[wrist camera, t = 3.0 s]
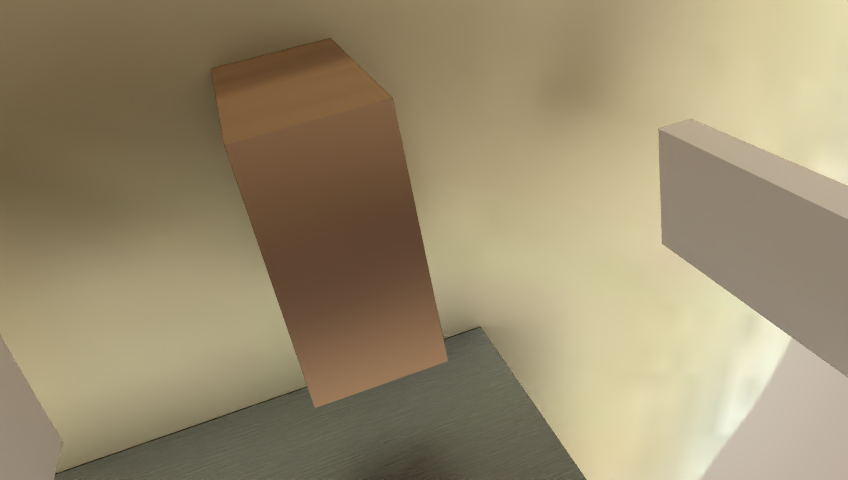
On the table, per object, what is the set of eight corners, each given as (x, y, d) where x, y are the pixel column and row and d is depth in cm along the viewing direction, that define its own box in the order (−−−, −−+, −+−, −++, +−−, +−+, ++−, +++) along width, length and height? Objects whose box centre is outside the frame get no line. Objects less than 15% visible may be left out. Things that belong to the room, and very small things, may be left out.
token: (210, 68, 17) (224, 145, 12) (330, 37, 18) (392, 98, 12) (280, 275, 20) (314, 408, 15) (380, 243, 20) (447, 361, 15)
